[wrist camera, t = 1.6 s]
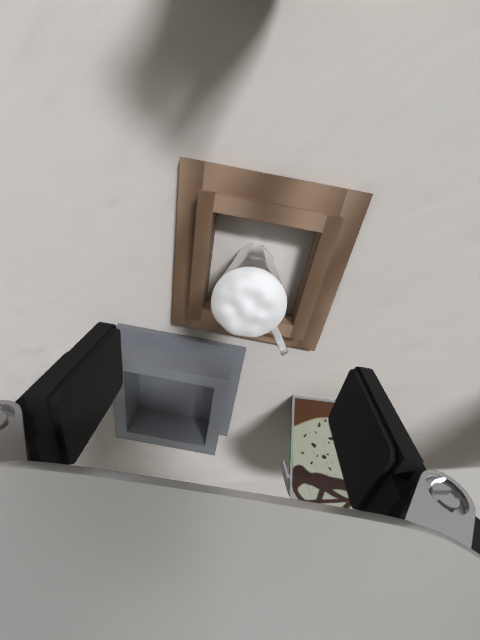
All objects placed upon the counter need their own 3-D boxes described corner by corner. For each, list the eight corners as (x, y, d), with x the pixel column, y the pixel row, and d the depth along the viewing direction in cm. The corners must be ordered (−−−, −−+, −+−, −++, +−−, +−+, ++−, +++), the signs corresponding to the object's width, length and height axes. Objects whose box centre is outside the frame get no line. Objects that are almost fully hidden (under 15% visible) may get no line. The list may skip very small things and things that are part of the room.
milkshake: (260, 303, 25) (256, 375, 17) (217, 262, 24) (187, 318, 15) (298, 270, 23) (317, 331, 15) (254, 223, 22) (245, 261, 13)
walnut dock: (370, 193, 20) (380, 195, 18) (313, 347, 27) (316, 359, 25) (182, 157, 20) (174, 156, 18) (173, 320, 27) (166, 331, 25)
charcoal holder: (245, 347, 28) (242, 374, 24) (227, 431, 34) (222, 462, 31) (118, 323, 28) (96, 346, 24) (124, 412, 34) (107, 441, 31)
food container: (271, 430, 34) (272, 523, 25) (279, 393, 30) (283, 484, 22) (373, 443, 33) (411, 543, 24) (392, 407, 30) (443, 505, 21)
